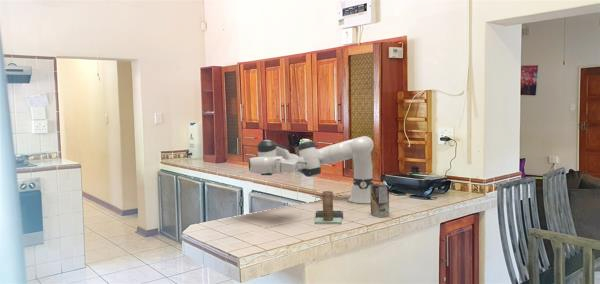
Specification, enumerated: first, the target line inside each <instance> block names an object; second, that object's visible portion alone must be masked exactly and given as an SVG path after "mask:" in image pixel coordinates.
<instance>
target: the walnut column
mask: <svg viewBox="0 0 600 284" xmlns="http://www.w3.org/2000/svg"><path fill="white" fill-rule="evenodd" d="M333 194H334V193H333V191H330V190H325V191H322V211H323V220H324V221H332V220H333V211H334V198H333V197H334V195H333Z"/></svg>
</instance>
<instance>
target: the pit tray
mask: <svg viewBox="0 0 600 284" xmlns="http://www.w3.org/2000/svg"><path fill="white" fill-rule="evenodd" d="M316 218H323V210H316V211H315V219H316ZM333 218H342V220H343V219H344V211H343V210H333Z"/></svg>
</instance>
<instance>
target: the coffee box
mask: <svg viewBox="0 0 600 284" xmlns="http://www.w3.org/2000/svg"><path fill="white" fill-rule="evenodd" d="M389 187H390V186H389V185H388V184H387V185H386V184H383V183H373V184H370V191H371V203H370V215H371V216H374V217H378V218H385V217H390V188H389Z"/></svg>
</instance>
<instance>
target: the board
mask: <svg viewBox="0 0 600 284" xmlns="http://www.w3.org/2000/svg"><path fill="white" fill-rule="evenodd" d="M342 221H343V219H342V218H333V220H332V221H324V220H323V218H316V217H315V220H314V225H342V223H343V222H342Z"/></svg>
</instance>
